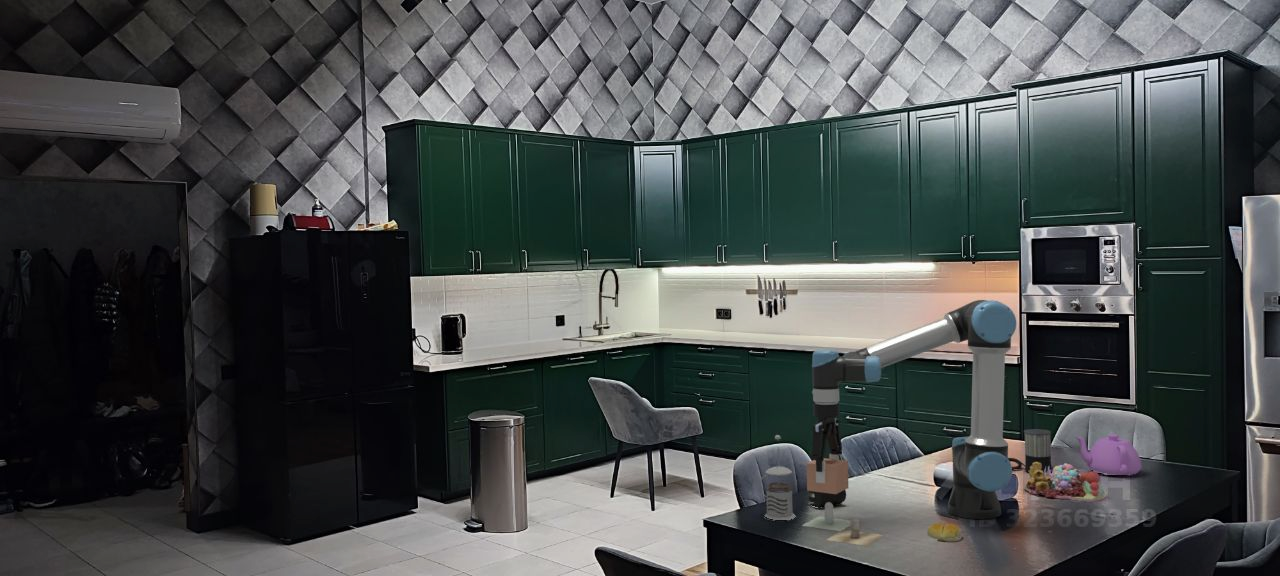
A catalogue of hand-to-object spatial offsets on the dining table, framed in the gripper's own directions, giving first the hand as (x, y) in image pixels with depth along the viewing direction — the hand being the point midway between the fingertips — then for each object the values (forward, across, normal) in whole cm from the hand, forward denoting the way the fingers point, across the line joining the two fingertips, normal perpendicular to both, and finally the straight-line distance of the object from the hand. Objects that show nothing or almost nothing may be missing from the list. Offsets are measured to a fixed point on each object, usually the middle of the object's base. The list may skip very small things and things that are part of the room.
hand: (827, 479), depth 268 cm
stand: (+13, +10, +12) cm, 21 cm away
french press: (+14, -2, -18) cm, 23 cm away
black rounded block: (+14, -21, -10) cm, 27 cm away
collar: (+3, 0, 0) cm, 3 cm away
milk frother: (+13, -103, +32) cm, 109 cm away
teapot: (+13, -111, +57) cm, 126 cm away
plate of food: (+14, -75, +50) cm, 91 cm away
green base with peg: (+14, 0, 0) cm, 14 cm away
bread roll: (+14, -4, +33) cm, 36 cm away
